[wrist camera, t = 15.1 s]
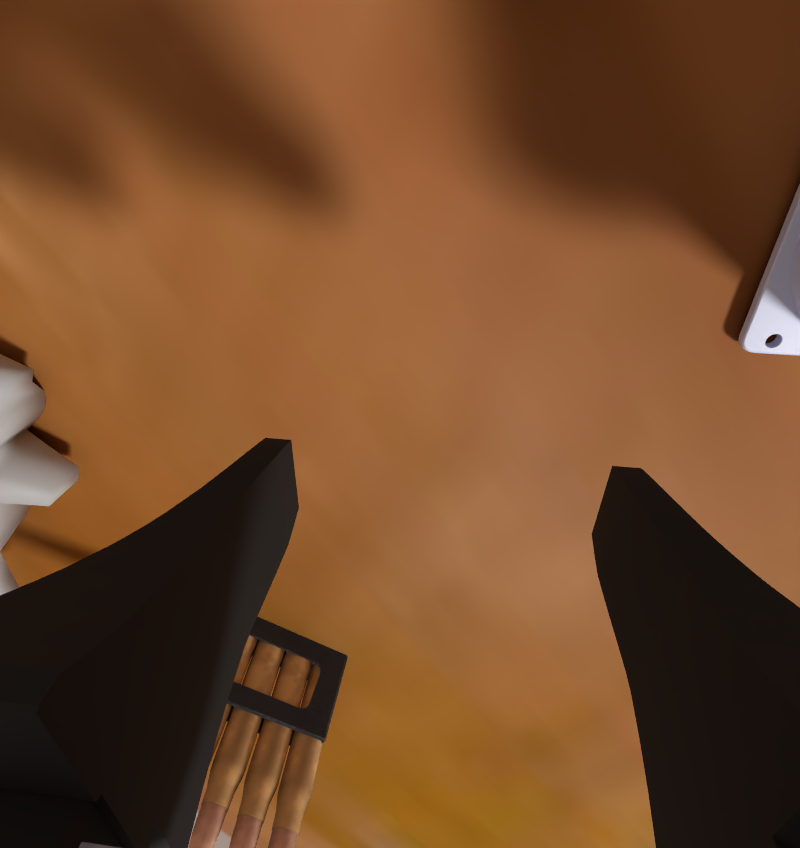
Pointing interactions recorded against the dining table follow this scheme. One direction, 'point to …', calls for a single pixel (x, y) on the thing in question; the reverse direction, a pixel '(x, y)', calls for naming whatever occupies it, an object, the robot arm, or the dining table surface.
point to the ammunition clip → (271, 736)
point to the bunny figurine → (24, 457)
